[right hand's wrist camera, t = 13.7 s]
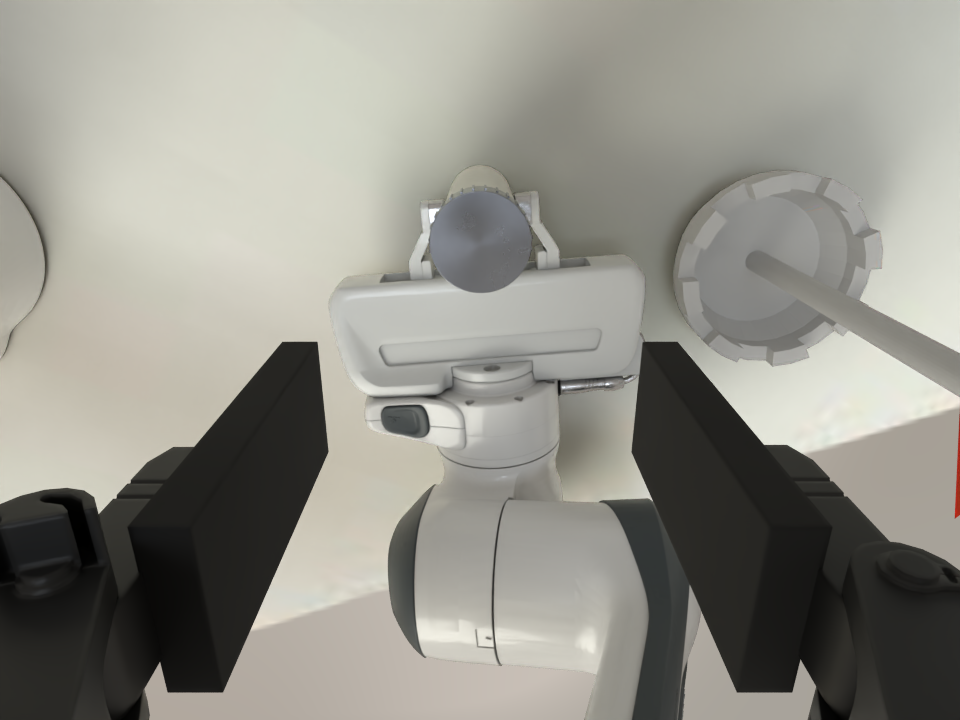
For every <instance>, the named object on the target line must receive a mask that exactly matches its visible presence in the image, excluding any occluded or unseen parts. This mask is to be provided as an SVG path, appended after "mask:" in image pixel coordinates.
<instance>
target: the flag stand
mask: <svg viewBox="0 0 960 720" xmlns="http://www.w3.org/2000/svg"><path fill="white" fill-rule="evenodd" d="M862 200H863V199H862V198H860V197H859V196H858V195H857V194H856V193H855V192H853V191H852V190H851V189H850V188H849V187H847V186H845V185H843V184H841V183H839V182H837V181H835V180H833V179H830V178H825V177H820V176H816V175H812V174H808V173H804V172H799V171H784V170H775V171H770V172H764V173H758V174H755V175H752V176H749V177H747V178H744V179H741V180H739V181H737V182H735V183H733V184H732V185H730V186H728V187H727V188H725V189H723V190H722V191H720V192H719V193H718V194H717V195H715V196H714V197H713V198H712V199H711V200H710V201H708V202H707V203H706V204H705V205H704V206H703V207H701V208H700V209H699V211H698V212H697V213H696V214H695V216H694V217H693V218H692V219H691V220H690V222H689V224H688V226H687V227H686V229H685V231H684V233H683V235H682V237H681V240H680V243H679V246H678V250H677V253H676V257H675V264H674V271H673V280H674V293H675V296H676V300H677V303H678V307H679V309H680V311H681V313H682V315H683V317H684V318H685V320H686V322H687V323H688V324H689V326H690V327H691V328H692V329H693V330H694V331H695V332H696V334H697V335H698V336H699V337H700V338H701V339H702V340H703V341H704V342H705V343H706V344H707V345H708V346H709V347H711V348H712V349H713V350H715V351H716V352H717V353H719V354H720V355H722V356H724V357H726V358H729V359H731V360H733V361H735V362H737V361H738V359H739V358H741V359H746V360H766V361H767V362H768V363H769V364H770V365H771V366H778V365H785V364H791V363H794V362H797V361H800V360H803V359H806V358H809V355H808V352H807V348H809V347H811V346H813V345H815V344H817V343H819V342H820V341H821V340H823V339H824V338H825V337H827V336H828V335H829V334H831V333H832V332H833V331H835V332H837V333H839V334H840V335H842V336H844V335H845V334H846V332H847V331H848V330H850V331H851V332H853V333H855V334H856V335H858V336H860V337H861V338H863V339H865V340H866V341H868V342H869V343H871V344H873V345H874V346H876V347H878V348H879V349H881V350H883V351H884V352H886V353H888V354H889V355H891V356H893V357H894V358H896V359H898V360H899V361H901V362H902V363H904V364H906V365H907V366H909V367H911V368H912V369H914V370H916V371H917V372H919V373H921V374H922V375H924V376H926V377H927V378H929V379H931V380H932V381H934V382H936V383H937V384H939V385H940V386H942V387H944V388H945V389H947V390H949V391H950V392H952V393H954V394H955V395H957V396H959V397H960V353H958V352H956V351H954V350H952V349H950V348H948V347H946V346H945V345H943V344H941V343H939V342H937V341H935V340H933V339H931V338H929V337H927V336H925V335H923V334H921V333H919V332H917V331H915V330H913V329H911V328H910V327H908V326H906V325H904V324H902V323H900V322H898V321H896V320H894V319H892V318H890V317H888V316H886V315H884V314H882V313H880V312H878V311H876V310H875V309H873V308H871V307H869V306H868V305H867V304H865V303H863V302H861V301H859V299H860V297H861V295H862V293H863V291H864V289H865V286H866V284H867V281H868V277H869V274H870V270H871V269H882V255H883V247H882V241H881V234H880V231H878V230H875V229H871V228H870V227H869V224H868V222H867V220H866V217H865V215H864V212H863V210H862V209H861V208H860V206H859V205H858V203H859V202H860V201H862ZM959 515H960V416H959V438H958V460H957V482H956V503H955V518H956V517H958V516H959Z"/></svg>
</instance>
